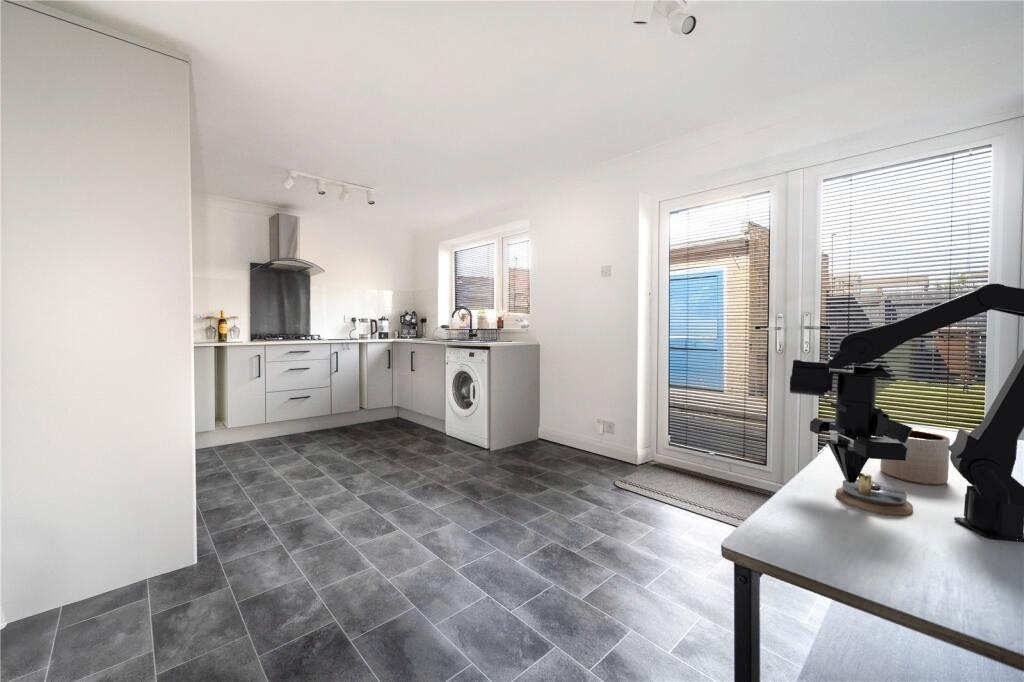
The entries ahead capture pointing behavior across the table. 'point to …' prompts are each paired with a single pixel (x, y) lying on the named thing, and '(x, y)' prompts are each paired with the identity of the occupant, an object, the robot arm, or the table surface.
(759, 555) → the table surface
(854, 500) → the stand
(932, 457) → the planter
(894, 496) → the dial
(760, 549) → the table surface
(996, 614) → the table surface
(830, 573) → the table surface
